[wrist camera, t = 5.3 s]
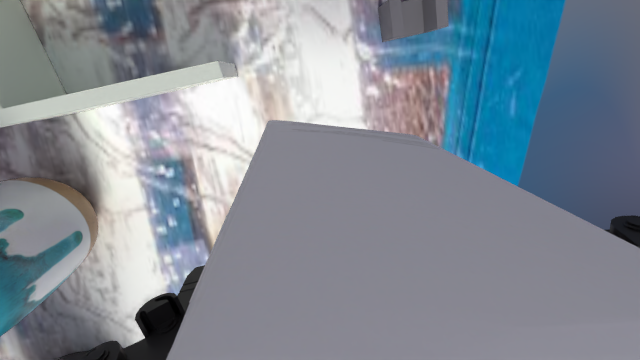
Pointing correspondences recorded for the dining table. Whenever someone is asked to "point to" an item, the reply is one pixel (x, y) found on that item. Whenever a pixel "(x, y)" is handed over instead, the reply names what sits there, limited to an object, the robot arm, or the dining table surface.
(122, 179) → the dining table surface
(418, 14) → the clip
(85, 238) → the vase
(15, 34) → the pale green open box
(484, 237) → the supplement box
